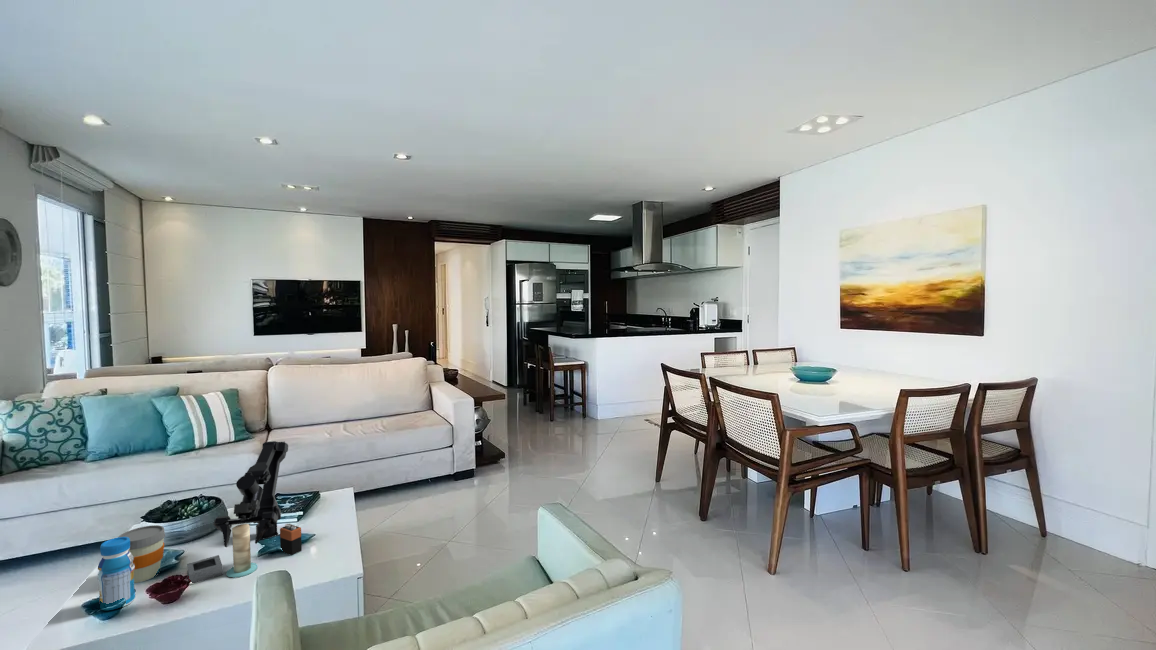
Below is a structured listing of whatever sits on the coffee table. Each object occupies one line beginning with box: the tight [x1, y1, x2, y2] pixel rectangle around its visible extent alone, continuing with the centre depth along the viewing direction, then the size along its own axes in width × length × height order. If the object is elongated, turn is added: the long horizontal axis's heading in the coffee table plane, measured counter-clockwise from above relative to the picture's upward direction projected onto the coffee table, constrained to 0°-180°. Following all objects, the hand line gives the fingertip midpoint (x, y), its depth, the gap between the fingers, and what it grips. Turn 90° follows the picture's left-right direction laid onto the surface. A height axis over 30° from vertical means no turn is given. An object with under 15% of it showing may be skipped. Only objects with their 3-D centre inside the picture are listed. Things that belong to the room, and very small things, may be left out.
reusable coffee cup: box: [118, 524, 166, 584], centre depth 169 cm, size 12×13×15 cm
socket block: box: [186, 554, 223, 584], centre depth 170 cm, size 9×9×4 cm
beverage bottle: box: [97, 536, 136, 606], centre depth 153 cm, size 8×8×20 cm
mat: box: [225, 562, 258, 579], centre depth 172 cm, size 9×9×1 cm
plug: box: [231, 523, 252, 573], centre depth 172 cm, size 5×5×15 cm
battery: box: [279, 523, 303, 556], centre depth 186 cm, size 4×7×10 cm, turn 63°
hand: (240, 545), depth 171 cm, fingers open, 9 cm apart
